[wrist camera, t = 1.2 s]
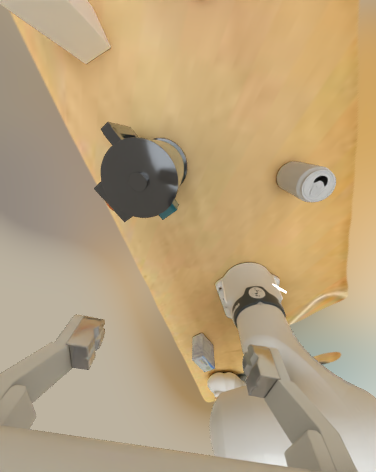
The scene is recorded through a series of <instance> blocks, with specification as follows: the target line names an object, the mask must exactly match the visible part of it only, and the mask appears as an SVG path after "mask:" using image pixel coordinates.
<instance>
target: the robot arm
mask: <svg viewBox="0 0 376 472" xmlns="http://www.w3.org/2000/svg"><path fill="white" fill-rule="evenodd" d="M279 283H280V280H279V278H278V277H277V276H275V275H273V274H271V273H270V272H269V271H268V270H267V269H266V268H265V267H264V266H262V265H260V264H257V263H242V264H238V265H236V266H234V267H232V268H231V269H230V270H229V271H228V272H227V273H226V274H225V275H224V277H223V278H222V279H220V280H218V281H217V282H216V283H215V285H216V289H217V291H218V294H219V297H220V300H221V303H222V305H223V308H224V311H225V314H226V316H227V317H228V318H231V319H232V320H233V322H234V324H235V325H236V327H237V329H238V332H239V337H240V342H241V347H242V351H243V354H244V356H243V371H244V373H245V374H246V375H247V379H246V386H242V387H238V388H235V389H231V390H228V391H225V392H222V393H220V394H219V396H218V397H217V399H216V401H215V403H214V405H213V408H212V412H211V417H210V438H211V445H212V449H213V452H214V456H210V455H203V454H196V453H189V452H183V451H175V450H169V449H162V448H155V447H148V446H141V445H134V444H127V443H120V442H114V441H107V440H100V439H93V438H86V437H79V436H72V435H65V434H58V433H52V432H45V431H38V430H31V429H30V427H31V425H32V424H33V422H34V420H35V418H36V413H35V410H34V407H33V405H32V403H33V402H34V401H35V400H36V399H37V398H39V397H40V396H41V395H42V394H43V393H44V392H46V391H47V390H48V389H49V388H50V387H51V386H52V385H54V384H55V383H56V382H57V381H58V380H59V379H60V378H62V377H63V376H64V375H65V374H66V373H67V372H69V371H70V370H71V369H72V368H78V369H87V370H89V368H90V367H91V364H92V362H93V360H94V358H95V351H96V350H97V349H99V348H100V346H101V344H102V341H103V338H104V334H105V329H104V328H103V326H104V324H105V321H104V320H103V319H98V318H93V317H88V316H82V315H77V314H76V315H75V316H74V317H72V319H71V320H70V322H69V323H68V324H67V326H66V327H65V329H64V330H63V331H62V333H61V334H60V335H59V337H58V338H57V340H56V341H55V342H54V343H53V342H51V343H49V344H48V345H46V346H44V347H43V348H41V349H39V350H38V351H36V352H35V353H33V354H31V355H30V356H28V357H26V358H25V359H23V360H22V361H20V362H18V363H17V364H15V365H13V366H12V367H10V368H8V369H7V370H5V371H4V372H2V373H0V472H376V398H375V397H374V396H373V395H371V394H370V393H368V392H367V391H365V390H363V389H361V388H359V387H357V386H354V385H353V384H351V383H349V382H347V381H345V380H343V379H342V378H340V377H338V376H337V375H335V374H334V373H332V372H331V371H329V370H328V369H327V368H325V367H324V366H323V365H322V364H320V363H319V362H318V361H317V360H316V359H315V358H313V357H312V356H311V355H310V354H309V353H308V352H307V351H306V350H305V349H304V347H303V346H302V345H301V344H300V343H299V341H298V339H297V338H296V336H295V335H294V333H293V331H292V329H291V328H290V326H289V324H288V322H287V320H286V316H285V312H284V309H283V307H282V305H281V301H282V299H283V298H282V295H281V292H280V290H281V291H283V292H285V293H287V292H286V291H285V290H283V289H282V288H280V287H278V286H279Z"/></svg>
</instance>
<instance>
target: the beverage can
mask: <svg viewBox="0 0 376 472" xmlns="http://www.w3.org/2000/svg"><path fill="white" fill-rule="evenodd" d="M277 183H278V185H279V187H280V188H282V189H283V190H285V191H287V192H289V193H290V194H292V195H294V196H296V197H297V198H299V199H301V200H303V201H305V202H318V201H322V200H324V199H325V198H327V197H328V196H329V195H330V194H331V193H332V192H333V190H334V188H335V185H336V178H335V176H334V174H333V173H332V172H331V171H330V170H329V169H328V168H326V167H322V166H317V165H312V164H307V163H302V162H297V161H293V162H289V163H287V164H285V165H284V166H282V167H281V169H280V170H279V172H278V174H277Z"/></svg>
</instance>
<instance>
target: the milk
mask: <svg viewBox="0 0 376 472" xmlns="http://www.w3.org/2000/svg"><path fill="white" fill-rule="evenodd" d="M0 4H1V5H2V6H4V7H5V8H6V9H8V10H9V11H11V12H12V13H14V14H15V15H16V16H18V17H19V18H21V19H22V20H24V21H25V22H26V23H28V24H29V25H31V26H32V27H34V28H35V29H36V30H38V31H39V32H41V33H42V34H44V35H45V36H46V37H48V38H49V39H51V40H52V41H53V42H55V43H56V44H58V45H59V46H61V47H62V48H63V49H65V50H66V51H68V52H69V53H71V54H72V55H73V56H75V57H76V58H78V59H79V60H81V61H82V62H83V63H85V64H87V63H89V62H90V61H92V60H93V59H95V58H96V57H98V56H99V55H101V54H102V53H104V52H105V51H107V50H108V49H110V48H111V46H110V44H109V42H108V40H107V37H106V35H105V33H104V31H103V29H102V26H101V24H100V22H99V20H98V18H97V15H96V13H95V11H94V9H93V7H92V5H91V4H90V3H89V2H88V0H0Z"/></svg>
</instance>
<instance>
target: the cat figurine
mask: <svg viewBox="0 0 376 472" xmlns="http://www.w3.org/2000/svg"><path fill="white" fill-rule="evenodd" d="M245 385H246V384H245V382H244V381H242V380H240V378H239V377H238V376H237V375H235V374H233V373H231V372H227V373H221V372H218V373H214V374H213V375H211V376H210V377H209V379H208V387H209V389H210V390H211V391H212V392H213V393H214V396H215V399H217V397H218V396H219V394H220V393H222V392H225V391H228V390H231V389H235V388H238V387H242V386H245Z"/></svg>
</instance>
